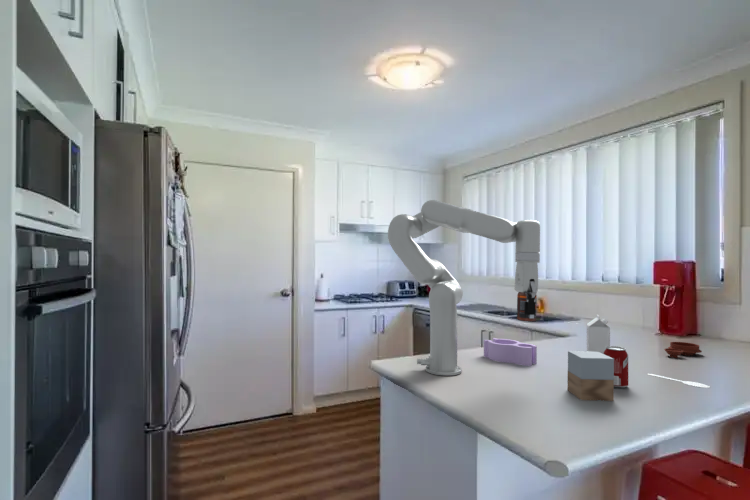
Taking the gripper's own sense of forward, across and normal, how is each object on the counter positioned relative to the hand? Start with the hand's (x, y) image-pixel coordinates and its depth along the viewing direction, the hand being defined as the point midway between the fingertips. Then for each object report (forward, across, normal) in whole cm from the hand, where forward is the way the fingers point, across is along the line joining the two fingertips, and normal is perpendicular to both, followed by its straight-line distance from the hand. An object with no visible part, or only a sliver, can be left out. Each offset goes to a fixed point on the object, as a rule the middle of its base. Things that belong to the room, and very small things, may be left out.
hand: (526, 312), depth 134 cm
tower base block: (+22, +12, +15) cm, 30 cm away
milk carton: (+22, -24, +35) cm, 48 cm away
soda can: (+22, +2, +28) cm, 36 cm away
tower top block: (+16, +12, +15) cm, 25 cm away
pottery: (+22, -46, +80) cm, 94 cm away
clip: (+23, -30, +3) cm, 38 cm away
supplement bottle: (+3, 0, 0) cm, 3 cm away
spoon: (+22, -6, +52) cm, 56 cm away
